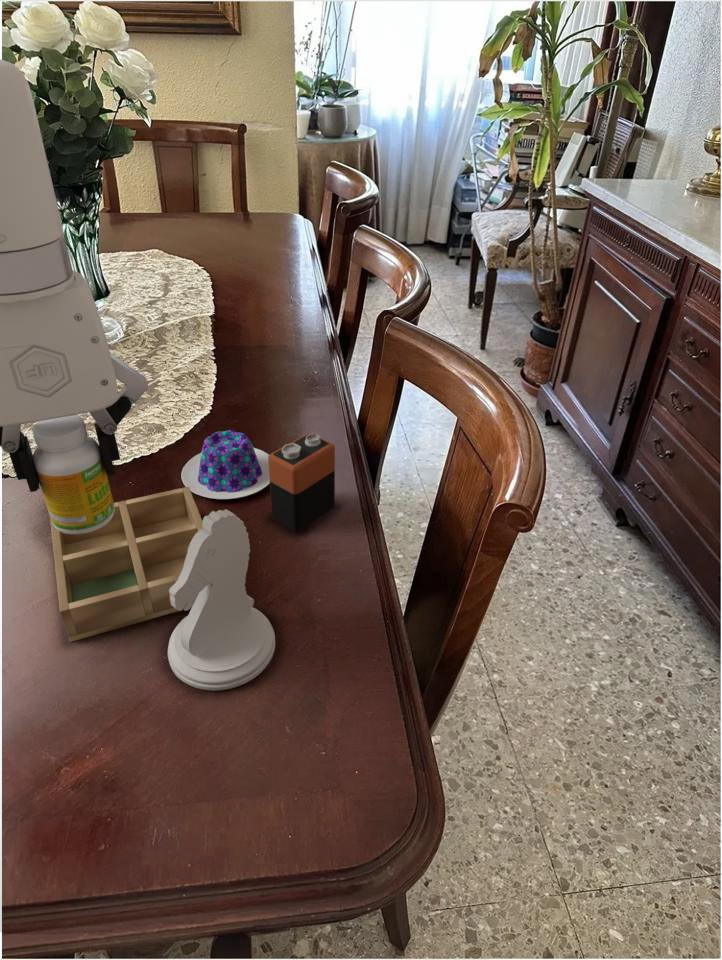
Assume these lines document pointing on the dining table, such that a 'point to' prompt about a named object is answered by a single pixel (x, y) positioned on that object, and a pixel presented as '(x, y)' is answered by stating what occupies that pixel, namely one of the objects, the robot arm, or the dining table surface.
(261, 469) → the pudding
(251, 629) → the chess piece
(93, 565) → the grid
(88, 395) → the robot arm
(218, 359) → the dining table surface
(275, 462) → the battery
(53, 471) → the supplement bottle
